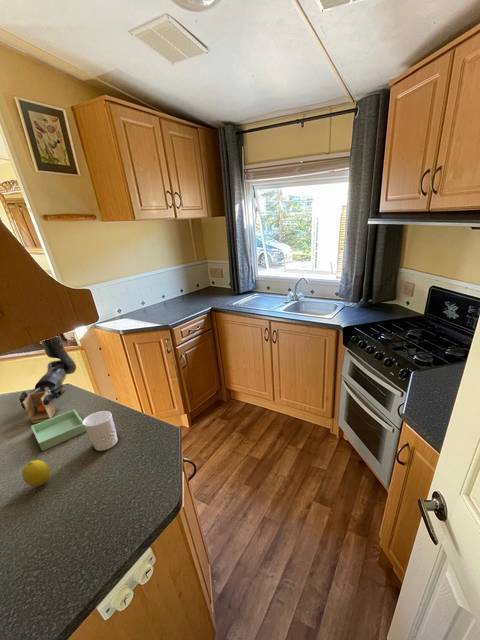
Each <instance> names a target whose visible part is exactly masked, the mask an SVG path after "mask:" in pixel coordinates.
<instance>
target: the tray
mask: <svg viewBox="0 0 480 640" xmlns="http://www.w3.org/2000/svg"><path fill="white" fill-rule="evenodd" d="M83 420H84V419H82V418H81V416H80V415H79V413H78V412H77V411H76V409H72V410H69V411H67V412H64V413H62V414H59V415H56V416H53V417H52V418H51V419H48V420H46V421H42V422H37V423H36V424H33V425H30V428H31V430H32V433H33V435H34V437H35V439H36V441H37V443H38V446H39V448H40V450H41V451H43V452H44V451H45V450H48V449H49V448H53V447H54V446H56V445H59V444H61V443H63V442H65V441H68V440H70V439H72V438H75V437H76V436H79V435H82V434H83V433H87V432H86V430H85V427H84V425H83Z"/></svg>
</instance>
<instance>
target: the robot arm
mask: <svg viewBox="0 0 480 640" xmlns="http://www.w3.org/2000/svg"><path fill="white" fill-rule="evenodd" d="M41 345H42V347H43V349H44V352H45V355H46V356H47V357H48V358H52V359H58V360H53V361H50V362H48V363H47V367H46V368H47V370H46V373H45V374H44V375H42V376H41V378H40V379H39V380H38V381H37V382H36V383H35V386H34V388H33V389H32V390H31V392H28V393H27V392H26V391H24V392H22V393H21V395H19V399H18V400H19V402H20V406H21V409H23V410H26V409H25V407H24V405H23V403H22V402H23V401H24V400H25V399H26V398H27V396H28V395H29V394H34V393H39V392H45V391H47V392H48V394H47V395H48V396H46V397H45V398H44V400H43V402H44V405H48V403H50V402H51V401H53V400H54V399H57V400H58V399H60V397H61V396H62V395H63V394H64V393H65V392H66V389H65V387H64V385H63V382H64V381H65V380H66V378H67V376H68V375H72V374H74V373H76V370H77V365H76V363H75V361H74V360H73V358H72V357H71V356H70V355H69V353H68V352H67V350H66V349H65V345H64V343H63V341H62V338H61V336H60V335H59V336H57V337H55V338H52V339H49V340H45V341H43V342H41Z"/></svg>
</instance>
